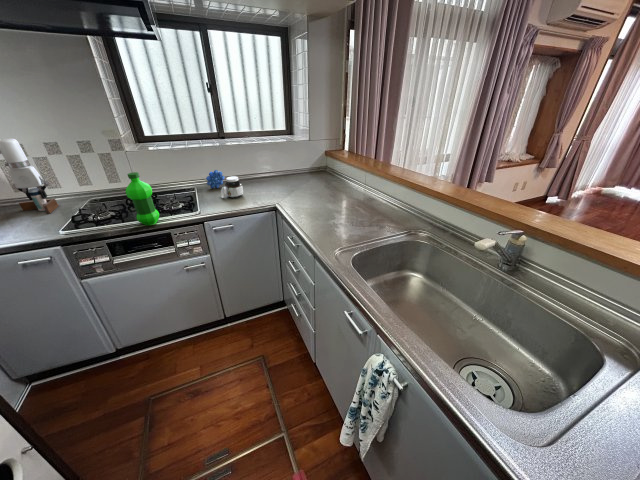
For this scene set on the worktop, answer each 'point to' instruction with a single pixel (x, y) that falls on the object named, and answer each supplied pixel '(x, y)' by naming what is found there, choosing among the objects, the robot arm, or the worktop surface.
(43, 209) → the white pill bottle
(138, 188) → the plastic bottle
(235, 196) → the spread jar
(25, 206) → the corner rack
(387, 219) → the worktop surface
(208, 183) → the blue knobbly toy
